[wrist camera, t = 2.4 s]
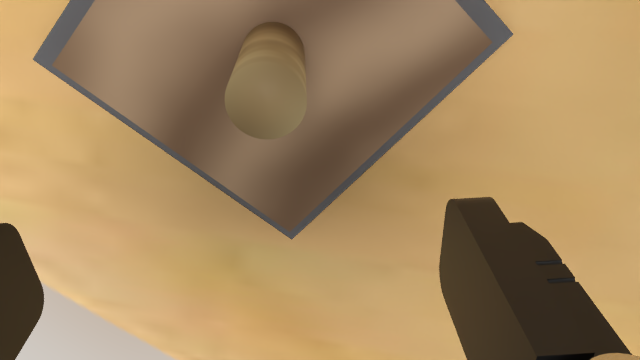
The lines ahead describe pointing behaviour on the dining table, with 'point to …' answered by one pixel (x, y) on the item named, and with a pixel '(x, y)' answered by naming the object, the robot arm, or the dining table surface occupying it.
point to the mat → (46, 56)
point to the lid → (271, 83)
